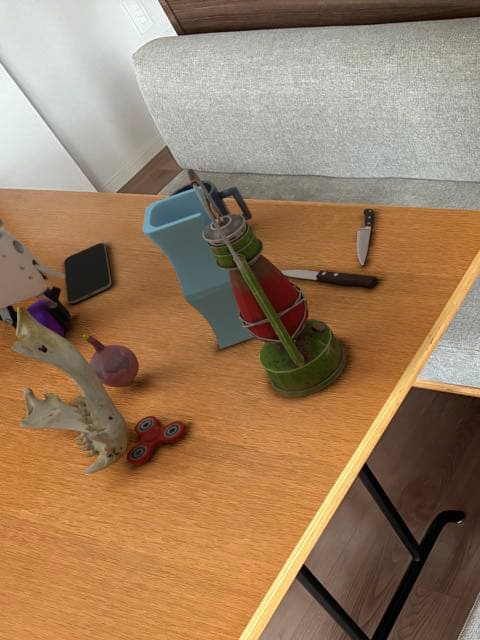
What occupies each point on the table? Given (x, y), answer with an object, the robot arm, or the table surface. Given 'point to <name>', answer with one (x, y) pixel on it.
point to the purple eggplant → (45, 318)
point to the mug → (220, 198)
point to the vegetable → (113, 363)
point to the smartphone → (87, 273)
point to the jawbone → (94, 407)
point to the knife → (364, 236)
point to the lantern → (272, 307)
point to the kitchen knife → (334, 277)
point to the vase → (196, 262)
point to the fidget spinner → (153, 438)
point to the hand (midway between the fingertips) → (50, 328)
